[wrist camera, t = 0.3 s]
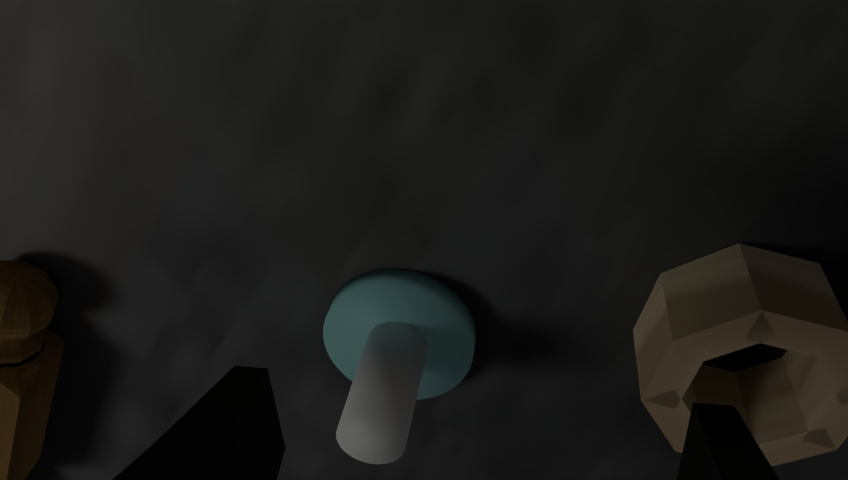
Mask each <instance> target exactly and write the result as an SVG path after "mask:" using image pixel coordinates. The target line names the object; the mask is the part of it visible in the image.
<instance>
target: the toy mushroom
mask: <svg viewBox="0 0 848 480" xmlns="http://www.w3.org/2000/svg"><path fill="white" fill-rule="evenodd" d="M323 338H324V343H325V347H326V350H327V352H328V354H329V356H330V358H331V360H332V361H333V363H334V364H335V365H336V367H337V368H338V369H339V370H340V371H341V372H342V373H343V374H344V375H345V376H346V377H347V378H349V379H350V380H351V381H353V383H352V386H351V389H350V392H349V395H348V398H347V401H346V404H345V407H344V410H343V413H342V416H341V419H340V422H339V425H338V428H337V431H336V438H337V441H338V443H339V445H340V447H341V448H342V449H343V450H344V451H345V452H346V453H347V454H349V455H350V456H352V457H353V458H355V459H357V460H360V461H362V462H366V463H371V464H386V463H390V462H393V461H395V460H397V459H398V458H400V457H401V456H402V454H403V453H404V451H405V447H406V443H407V438H408V434H409V430H410V425H411V421H412V416H413V412H414V408H415V403H416V400H417V399H426V398H431V397H434V396H438V395H440V394H443V393H445V392H447V391H449V390H451V389H452V388H454V387H455V386H456V385H458V384H459V383H460V382H461V381H462V380H463V379H464V377H465V376H466V374H467V373H468V371H469V369H470V367H471V364H472V360H473V355H474V349H475V342H476V329H475V323H474V320H473V317H472V315H471V313H470V311H469V309H468V308H467V306H466V304H465V303H464V302H463V301H462V299H461V298H460V297H459V296H458V295H457V294H456V293H455V292H453V291H452V290H451V289H450V288H448V287H447V286H446V285H444V284H443V283H441V282H439V281H437V280H436V279H433V278H431V277H429V276H426V275H424V274H420V273H417V272H413V271H408V270H401V269H382V270H375V271H371V272H367V273H364V274H362V275H359V276H357V277H355V278H354V279H352V280H350V281H349V282H348V283H346V284H345V285H344V286H343V287H342V288H341V289H340V290H339V291H338V293H337V294H336V296H335V297H334V300H333V302H332V304H331V307H330V309H329V311H328V314H327V316H326V319H325V322H324V326H323Z"/></svg>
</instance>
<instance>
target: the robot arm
mask: <svg viewBox="0 0 848 480" xmlns="http://www.w3.org/2000/svg"><path fill="white" fill-rule="evenodd" d="M284 451H285V444H284V440H283V435H282V431H281V426H280V422H279V418H278V413H277V409H276V405H275V400H274V396H273V392H272V387H271V383H270V379H269V374H268V370H267V369H266V368H253V367H241V366H234V367H233V368H232V369H231V370H230V371H229V372H228V373H227V374H226V375H225V376H224V377H223V378H221V379H220V380H219V381H218V382H217V383H216V384H215V385H214V386H213V387H212V388H211V389H210V390H209V391H208V392H207V393H206V394H205V395H204V396H203V397H202V398H201V399H200V400H199V401H198V402H197V403H196V404H195V405H194V406H192V407H191V408H190V409H189V410H188V411H187V412H186V413H185V414H184V415H183V416H182V417H181V418H180V419H179V420H178V421H177V422H176V423H175V424H174V425H173V426H172V427H171V428H169V429H168V430H167V431H166V432H165V433H164V434H163V435H162V436H161V437H160V438H159V439H158V440H156V441H155V442H154V443H153V444H152V445H151V446H150V447H149V448H148V449H147V450H146V451H145V452H144V453H142V454H141V455H140V456H139V457H138V458H137V459H136V460H135V461H134V462H132V463H131V464H130V465H129V466H128V467H127V468H125V469H124V470H123V471H122V472H121V473H120V474H118V475H117V476H116V477H115V478H114V479H112V480H277V476H278V473H279V469H280V465H281V462H282V458H283V454H284ZM677 480H780V479H779V478H778V476H777V474H776V473H775V471H774V470H773V468H772V467H771V465H770V463H769V462H768V460H767V459H766V457H765V455H764V454H763V452H762V450H761V449H760V447H759V446H758V444H757V442H756V441H755V439H754V437H753V435H752V434H751V432H750V430H749V429H748V427H747V425H746V423H745V422H744V420H743V418H742V416H741V415H740V413H739V411H738V410H737V409H736V408H735V407H734V406H731V405H719V404H706V403H693V405H692V409H691V414H690V419H689V424H688V428H687V433H686V438H685V443H684V448H683V452H682V457H681V462H680V467H679V471H678V476H677Z"/></svg>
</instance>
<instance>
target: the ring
mask: <svg viewBox="0 0 848 480" xmlns="http://www.w3.org/2000/svg"><path fill="white" fill-rule="evenodd" d="M633 334H634V343H635V352H636V361H637V369H638V378H639V387H640V395H641V401H642V402H643V404H644V405H645V407H646V408H647V410H648V411H649V413H650V414H651V416H652V417H653V419H654V420H655V422H656V423H657V425H658V426H659V427H660V429H661V430H662V432H663V433H664V435H665V436H666V438H667V439H668V441H669V442H670V444H671V445H672V447H673V448H674V450H675V451H676V452H680V453H682V452H683V448H684V443H685V438H686V433H687V428H688V424H689V419H690V414H691V409H692V405H693V403H706V404H719V405H731V406H734V407H735V408H736V409H737V410H738V411H739V413H740V415H741V416H742V418H743V420H744V422H745V423H746V425H747V427H748V429H749V430H750V432H751V434H752V435H753V437H754V439H755V441H756V442H757V444H758V446H759V447H760V449H761V450H762V452H763V454H764V455H765V457H766V459H767V460H768V462H769V463H770V465H771V466H775V465H779V464H783V463H787V462H791V461H795V460H799V459H803V458H807V457H811V456H815V455H819V454H823V453H826V452H830V451H834V450H837V449H838V447H839V446H840V445H841V444H842V443H843V441H844V440H845V439H846V438H847V436H848V321H847V319H846V317H845V315H844V313H843V311H842V309H841V307H840V305H839V303H838V301H837V299H836V297H835V295H834V293H833V291H832V288H831V286H830V284H829V282H828V280H827V278H826V276H825V274H824V272H823V270H822V268H821V266H820V264H819V263H816V262H812V261H808V260H804V259H800V258H796V257H792V256H788V255H784V254H780V253H776V252H772V251H768V250H764V249H760V248H756V247H752V246H748V245H744V244H740V243H738V244H735V245H733V246H730V247H728V248H725V249H722V250H720V251H717V252H715V253H712V254H710V255H707V256H704V257H702V258H699V259H697V260H694V261H692V262H689V263H686V264H684V265H681V266H679V267H676V268H673V269H671V270H668V271H666V272H663V273H661V274H660V276H659V278H658V280H657V282H656V284H655V286H654V288H653V290H652V292H651V294H650V296H649V298H648V300H647V302H646V305H645V307H644V309H643V311H642V313H641V315H640V317H639V319H638V321H637V323H636V325H635V327H634V329H633ZM758 343H762V344H766V345H770V346H774V347H778V348H782V349H786V350H787V351H786V352H785V354H784V355H783V357H781V358H778V359H775V360H772V361H769V362H765V363H762V364H759V365H756V366H753V367H749V368H746V369H743V370H740V371H737V372H732V371H728V370H724V369H720V368H716V367H712V366H708V365H704V364H702V363H703V361H706V360H709V359H712V358H715V357H719V356H722V355H725V354H728V353H731V352H734V351H737V350H740V349H743V348H746V347H749V346H752V345H755V344H758Z"/></svg>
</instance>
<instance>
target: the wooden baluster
mask: <svg viewBox="0 0 848 480" xmlns="http://www.w3.org/2000/svg"><path fill="white" fill-rule="evenodd" d="M58 297H59V295H58V291H57V289H56V287H55V285H54V284H53V282H52V281H51V279H50V278H49V276H48V274H47V273H46V271H45V270H43V269H42V268H39V267H37V266H35V265H32V264H30V263H28V262H26V261H0V364H9V363H20V362H22V361H23V360H25V359H27V358H28V357H30V356H31V355H33V354H35V353H36V352H38V351H40V350H41V347H42V344H43V341H44V338H45V348H44V349H43V350H42V351H41V352H40V353H39V355H38V356H37V357H36V358H35V359H34V360H33V361H30V362H28V363H25V364H23V365H20V366H18V367H0V480H25V479H26V478H27V476H28V475H29V474H30V472H31V470H32V469H33V467H34V466H35V464H36V462H37V461H38V459H39V457H40V455H41V451H42V446H43V441H44V437H45V432H46V427H47V423H48V418H49V413H50V409H51V404H52V399H53V395H54V390H55V385H56V380H57V376H58V371H59V366H60V362H61V357H62V352H63V348H64V343H65V342H64V341H63V340H62V338H61V337H60V336H59V335H57V334H56V333H54V332H53V331H51V330H50V329H48V328H46V326H47V325H49V323H50V322H51V320H52V317H53V314H54V311H55V308H56V305H57V302H58Z"/></svg>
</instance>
